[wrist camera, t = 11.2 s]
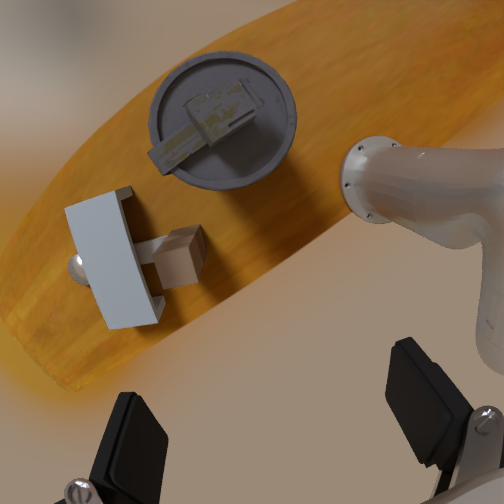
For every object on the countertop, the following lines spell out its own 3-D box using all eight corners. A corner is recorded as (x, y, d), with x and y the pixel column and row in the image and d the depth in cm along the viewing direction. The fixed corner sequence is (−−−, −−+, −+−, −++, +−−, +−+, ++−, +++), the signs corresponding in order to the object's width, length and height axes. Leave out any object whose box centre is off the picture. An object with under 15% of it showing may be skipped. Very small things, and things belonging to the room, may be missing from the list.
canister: (239, 83, 32) (244, 11, 13) (284, 147, 35) (337, 138, 16) (169, 130, 33) (102, 105, 14) (214, 193, 36) (191, 232, 17)
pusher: (199, 224, 38) (188, 247, 28) (206, 252, 39) (198, 282, 29) (96, 249, 38) (63, 276, 28) (104, 274, 39) (75, 305, 30)
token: (86, 244, 37) (81, 248, 36) (105, 270, 39) (101, 275, 37) (67, 261, 38) (62, 265, 36) (86, 285, 40) (82, 290, 38)
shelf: (130, 185, 35) (114, 190, 30) (166, 303, 41) (158, 322, 36) (83, 201, 35) (64, 208, 30) (121, 310, 41) (109, 329, 36)
